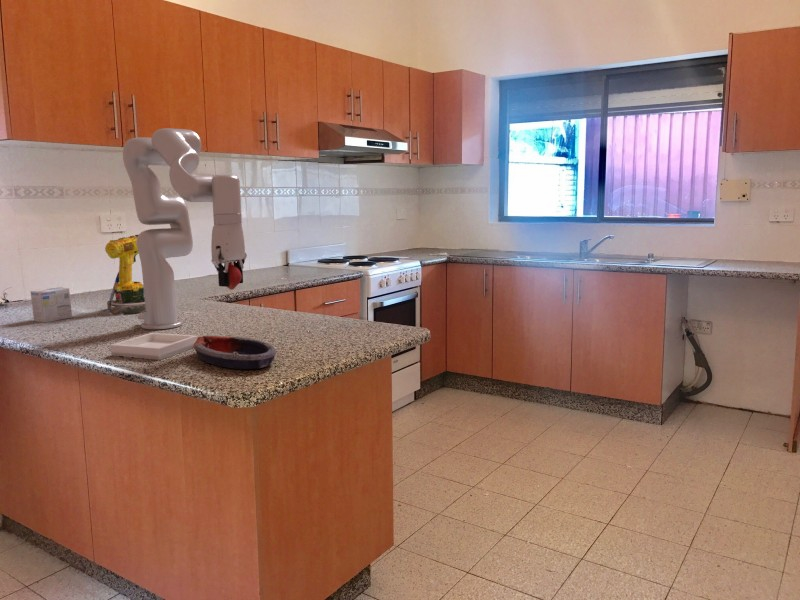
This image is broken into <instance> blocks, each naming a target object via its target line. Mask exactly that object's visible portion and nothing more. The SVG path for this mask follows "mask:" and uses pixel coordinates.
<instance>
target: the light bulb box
mask: <svg viewBox="0 0 800 600" xmlns="http://www.w3.org/2000/svg"><path fill="white" fill-rule="evenodd" d="M70 292H71V291H70V288H69V287H59V286H58V287H52V288H45V289H39V290H38V289H36V290H30V298H31V299H30V301H31V305H32V306H31V308H32V316H33V321H34V322H36V323H43V324H44V323H49V322H54V321H59V320H65V319H71V318H73V311H72V303H71V293H70Z"/></svg>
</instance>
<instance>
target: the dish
mask: <svg viewBox="0 0 800 600" xmlns="http://www.w3.org/2000/svg"><path fill="white" fill-rule="evenodd" d="M193 350H194V351H195V352H196V354H197V356H198V357H199V358H200V360H202V361H204V362H206V363H209V364H211V365H215V366H218V367H222V368H228V369H234V370H257V369H262V368H265V367H268V366H270V365H271V364H272V362H274V360H275V357H276V355H277V350H276V348H275V347H274V346H273V345H271V344H270V343H267V342H265V341H262V340H258V339H254V338H249V337H240V336H222V335H219V336H218V335H203V336H198V338H197V340H196V342H195V343H194V348H193Z"/></svg>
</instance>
